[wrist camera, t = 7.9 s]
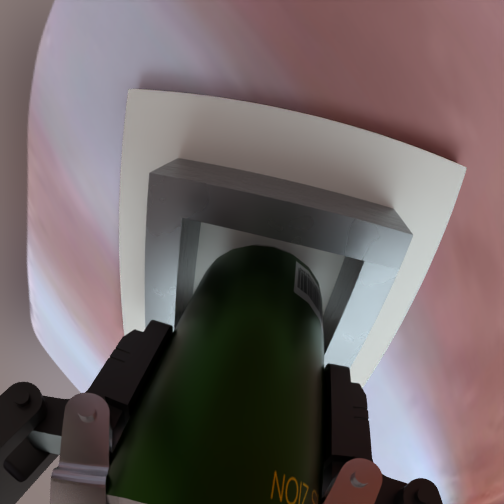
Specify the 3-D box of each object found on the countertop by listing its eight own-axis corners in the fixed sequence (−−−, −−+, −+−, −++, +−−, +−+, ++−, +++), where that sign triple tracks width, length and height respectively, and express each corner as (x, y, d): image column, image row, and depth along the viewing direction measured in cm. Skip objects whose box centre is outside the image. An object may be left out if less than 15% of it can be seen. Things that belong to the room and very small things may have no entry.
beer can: (266, 212, 13) (152, 552, 2) (344, 298, 14) (359, 583, 4) (183, 282, 15) (52, 516, 5) (259, 350, 16) (206, 578, 6)
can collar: (177, 158, 14) (149, 172, 11) (393, 208, 13) (413, 235, 11) (165, 325, 19) (146, 359, 16) (328, 364, 18) (329, 403, 15)
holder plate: (138, 88, 14) (128, 88, 13) (457, 163, 13) (466, 167, 12) (131, 335, 21) (125, 345, 20) (353, 389, 20) (354, 400, 19)
